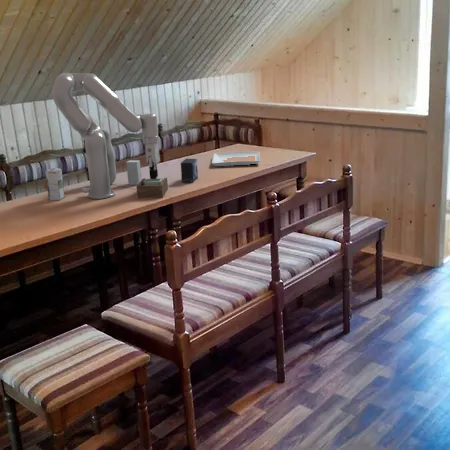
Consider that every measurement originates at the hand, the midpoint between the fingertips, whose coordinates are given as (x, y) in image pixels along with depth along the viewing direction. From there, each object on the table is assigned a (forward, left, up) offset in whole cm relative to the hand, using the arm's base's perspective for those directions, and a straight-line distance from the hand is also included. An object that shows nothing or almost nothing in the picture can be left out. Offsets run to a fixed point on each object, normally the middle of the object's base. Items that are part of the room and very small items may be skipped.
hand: (154, 177), depth 305 cm
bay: (0, -6, -7) cm, 9 cm away
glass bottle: (-28, +17, -7) cm, 34 cm away
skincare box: (-13, +15, -7) cm, 21 cm away
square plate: (+37, +60, -7) cm, 71 cm away
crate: (0, -3, -6) cm, 6 cm away
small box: (+15, +19, -7) cm, 25 cm away
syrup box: (-46, -10, -7) cm, 48 cm away
